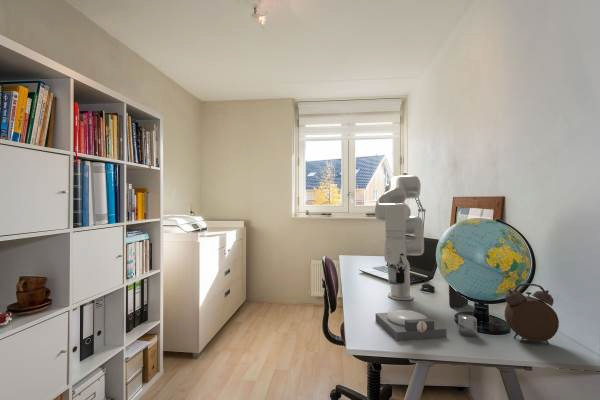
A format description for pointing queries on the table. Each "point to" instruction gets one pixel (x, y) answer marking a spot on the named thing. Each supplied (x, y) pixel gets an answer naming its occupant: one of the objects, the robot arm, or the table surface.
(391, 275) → the cylinder
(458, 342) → the table surface
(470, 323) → the cylinder
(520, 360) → the table surface
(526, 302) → the alarm clock
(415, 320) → the scale
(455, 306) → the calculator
